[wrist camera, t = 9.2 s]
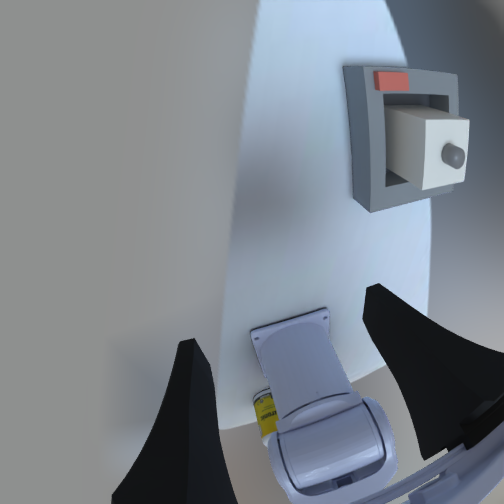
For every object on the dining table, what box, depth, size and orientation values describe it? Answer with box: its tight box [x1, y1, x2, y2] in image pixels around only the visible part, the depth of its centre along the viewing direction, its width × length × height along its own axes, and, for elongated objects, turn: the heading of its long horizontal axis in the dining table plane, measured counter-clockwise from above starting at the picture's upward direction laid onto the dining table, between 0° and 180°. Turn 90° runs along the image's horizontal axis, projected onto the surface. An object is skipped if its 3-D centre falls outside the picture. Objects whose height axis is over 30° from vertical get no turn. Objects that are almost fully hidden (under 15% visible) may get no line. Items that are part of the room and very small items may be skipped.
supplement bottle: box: [253, 389, 279, 447], centre depth 32 cm, size 5×5×10 cm
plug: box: [384, 105, 469, 190], centre depth 15 cm, size 4×4×6 cm
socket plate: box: [343, 66, 458, 213], centre depth 17 cm, size 10×9×3 cm
